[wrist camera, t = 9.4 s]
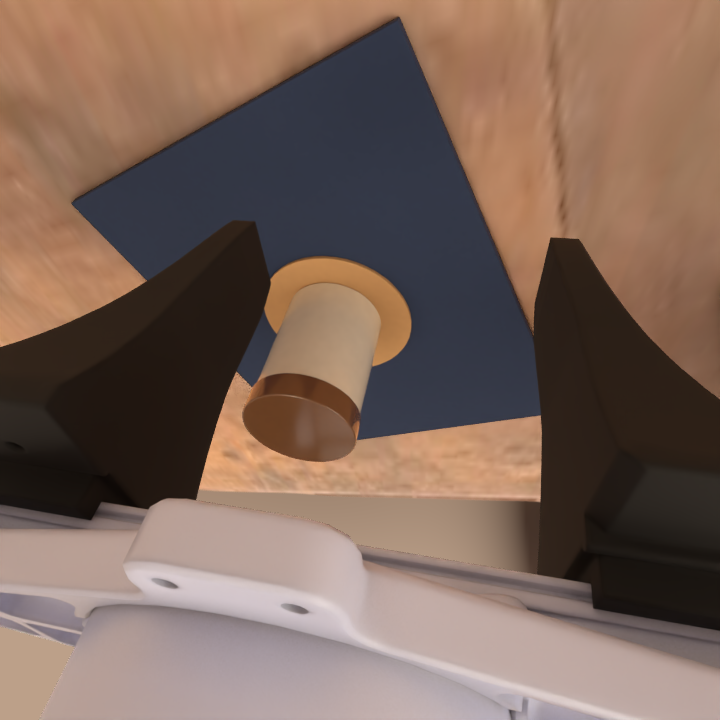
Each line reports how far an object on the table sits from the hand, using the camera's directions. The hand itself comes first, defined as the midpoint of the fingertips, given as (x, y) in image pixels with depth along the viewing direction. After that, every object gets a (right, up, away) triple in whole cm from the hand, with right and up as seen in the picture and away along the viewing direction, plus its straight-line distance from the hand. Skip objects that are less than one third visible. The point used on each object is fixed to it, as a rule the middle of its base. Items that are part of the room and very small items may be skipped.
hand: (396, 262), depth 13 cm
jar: (-2, 0, +15) cm, 15 cm away
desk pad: (-2, 0, +15) cm, 15 cm away
